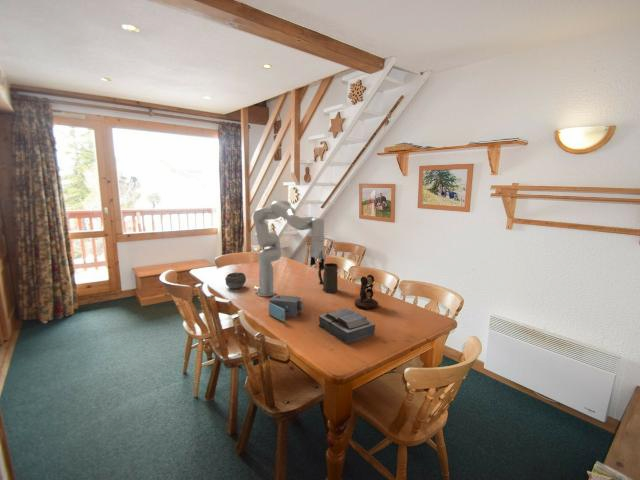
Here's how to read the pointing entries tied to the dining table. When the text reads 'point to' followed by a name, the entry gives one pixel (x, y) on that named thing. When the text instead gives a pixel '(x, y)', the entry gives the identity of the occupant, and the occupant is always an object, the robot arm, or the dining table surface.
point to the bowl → (235, 280)
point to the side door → (277, 312)
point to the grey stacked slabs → (347, 325)
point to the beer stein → (329, 278)
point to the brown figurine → (366, 293)
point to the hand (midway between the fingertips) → (317, 266)
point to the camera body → (288, 304)
